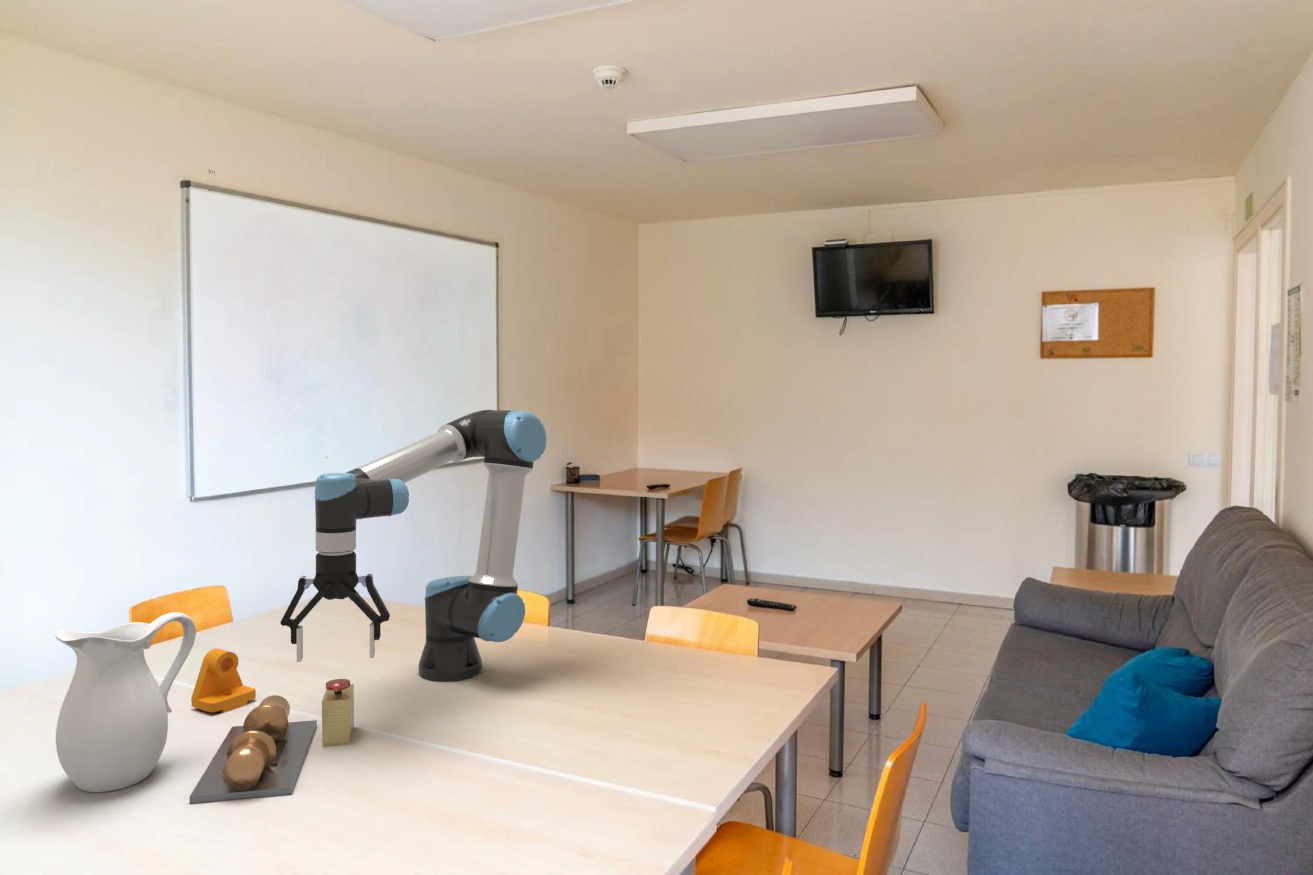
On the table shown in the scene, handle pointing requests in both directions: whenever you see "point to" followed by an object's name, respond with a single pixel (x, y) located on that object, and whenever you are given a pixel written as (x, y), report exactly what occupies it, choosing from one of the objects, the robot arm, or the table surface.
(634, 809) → the table surface
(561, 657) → the table surface
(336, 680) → the valve
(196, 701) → the bracket
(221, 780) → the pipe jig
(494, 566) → the robot arm
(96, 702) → the pitcher
